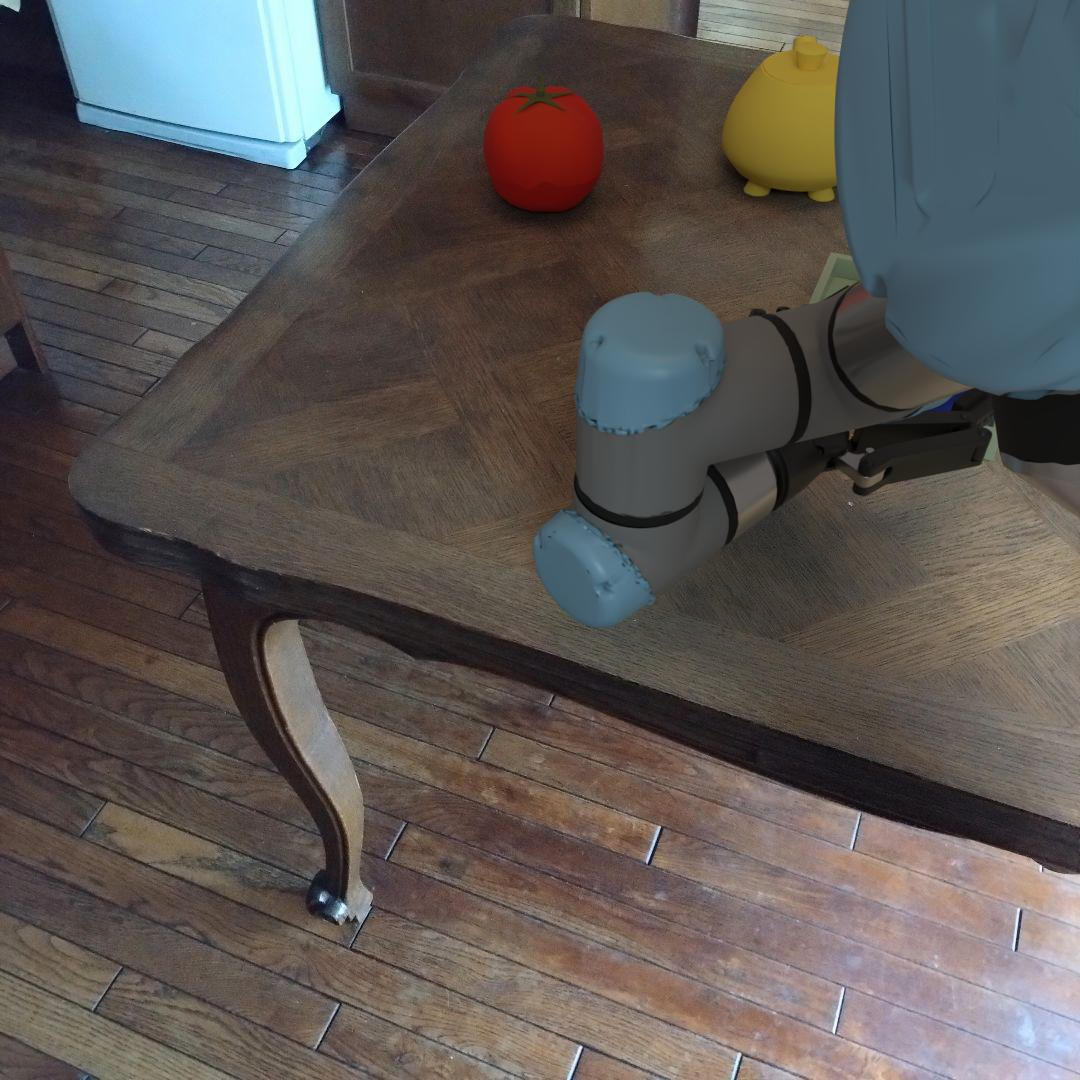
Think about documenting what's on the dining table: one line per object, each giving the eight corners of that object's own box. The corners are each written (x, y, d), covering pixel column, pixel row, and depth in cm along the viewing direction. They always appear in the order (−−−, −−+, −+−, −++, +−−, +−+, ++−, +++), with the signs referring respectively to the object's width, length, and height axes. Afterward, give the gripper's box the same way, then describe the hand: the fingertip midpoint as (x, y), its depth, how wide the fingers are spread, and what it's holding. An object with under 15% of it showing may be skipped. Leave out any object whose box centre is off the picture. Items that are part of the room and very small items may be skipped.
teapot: (724, 123, 124) (739, -2, 114) (861, 133, 122) (888, 7, 112) (711, 206, 110) (727, 72, 100) (865, 219, 108) (896, 84, 98)
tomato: (560, 162, 117) (561, 55, 109) (629, 213, 109) (636, 101, 101) (463, 191, 113) (456, 81, 105) (528, 246, 105) (526, 132, 97)
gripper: (601, 421, 79) (783, 312, 89) (883, 611, 66) (1059, 458, 76) (605, 337, 73) (798, 231, 83) (913, 525, 60) (1098, 373, 70)
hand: (923, 339), depth 79 cm, fingers open, 13 cm apart
